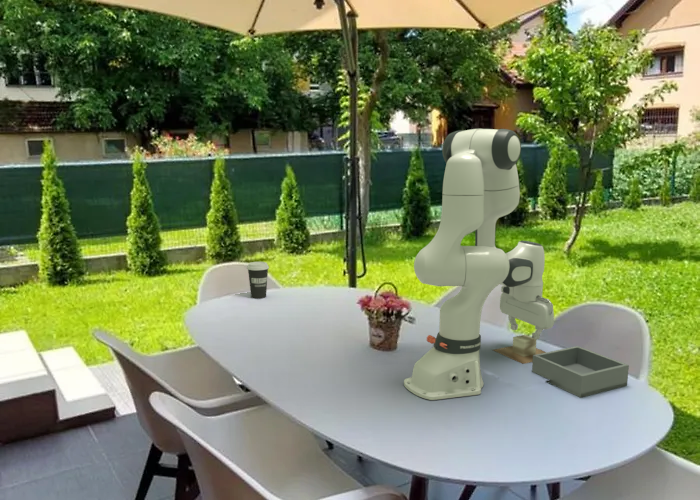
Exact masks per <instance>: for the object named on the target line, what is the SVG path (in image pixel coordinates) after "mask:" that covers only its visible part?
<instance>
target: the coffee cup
mask: <svg viewBox="0 0 700 500" xmlns="http://www.w3.org/2000/svg"><path fill="white" fill-rule="evenodd" d="M269 267H270V266H269V264H268V262H265V261H253V262H252V261H251V262H249V263H248V265H247V267H246V269H247V272H248V281H249V289H250V297H251V298H252V299H257V300H259V299H260V300H261V299H265V298H267V291H268V290H267V289H268V288H267V286H268V272H269V269H270V268H269Z"/></svg>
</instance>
